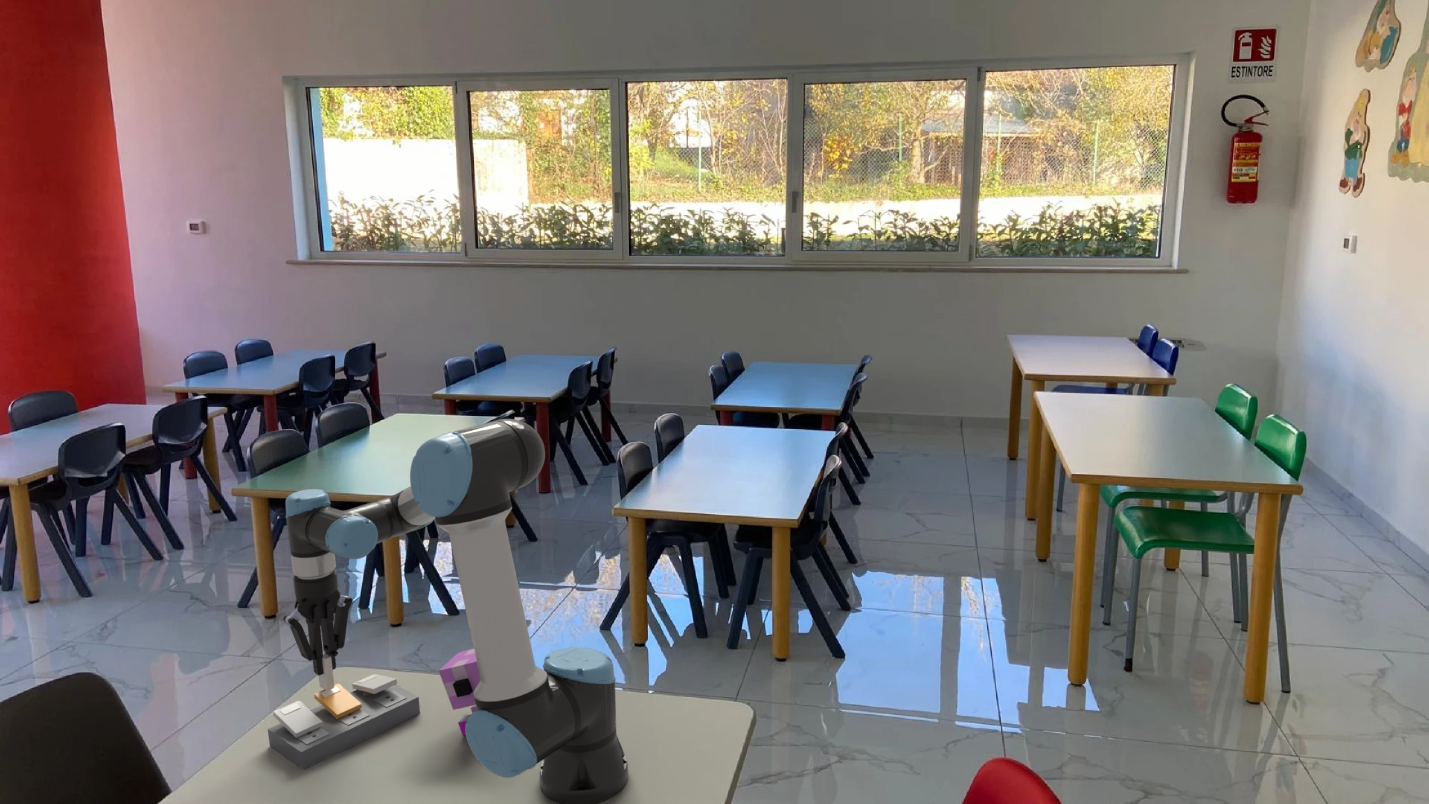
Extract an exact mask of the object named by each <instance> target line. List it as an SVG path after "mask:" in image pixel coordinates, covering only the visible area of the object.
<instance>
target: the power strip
mask: <svg viewBox="0 0 1429 804" xmlns="http://www.w3.org/2000/svg"><path fill="white" fill-rule="evenodd" d="M349 693H350V694H351V695H352V696H354V697H355V698H356V699H357V700H358V701H359V702H360V703H362V708H360V709H358V710H356V711H354V712H352V713H349V714H347V715H345V716H343V717H341V718H339V719H337V718H335V717H334V716H333V715H332V714H331V713H330V712H329V711H328V710H327V709H326V708H325V707H323V706H322V705H321V704H320V705H319V706H317V707H315V708H312V709H309V710H310V711H311V712H312V713H313V714H315V715H316V716H317V717H318V718H319V719H320V720H321V721H322V726H321V727H319V728H317V729H315V730H312V731H310V732H308V733H306V734H304V735H301V736H299V737H297V738H296V737H295V736H294V735H293V734H292V733H291V732H290V731H288V730H287V729H286V728H285V727H284V726H283V725H282V724H281V723H280V722H279V723H278V724H276V725H273V726H271V727H269V728H267V733H268V734H267V735H268V742H269V747H270V748H272V749H274V751H276V752H277V753H279V754H280V755H281V756H283V757H285V759H287V760H289V761H290V762H291V763H292V764H294V765H296V766H297V767H298V768H300V769H301V770H304V771H305V770H306V769H309V768H310V767H312V766H315V765H317V764H318V763H321V762H323V761H325V760H327V759H328V758H331V757H333V756H335V755H337V754H339V753H341V752H343V751H346V750H348V749H349V748H351V747H353V746H355V745H357V744H359V743H361V742H364V741H366V740H369V738H372V737H374V736H376V735H378V734H380V733H382V732H385V731H386V730H388V729H390V728H392V727H394V726H397V725H399V724H400V723H402V722H405V721H407V720H410V719H411V718H413V717H414V716H417V715H419V714H421V709H420V708H421V707H420V697H419V696H418V695H417V694H415V693H413V692H411V691H409V690H407V689H405V688H403V687H402V686H401V685H400V686H399V685H398V684H396V685H393V686H391V687H389V688H387V689H385V690H382V691H380V692H378V693H376V694H372V693H369V692H365V691H361V690H357V689H354V690H353V691H350V692H349Z"/></svg>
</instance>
